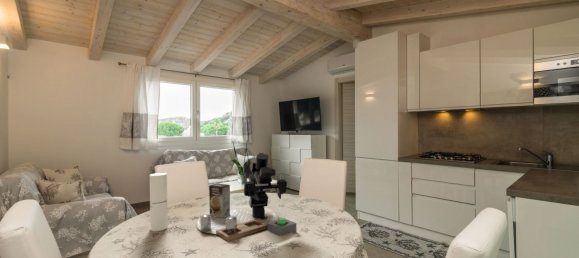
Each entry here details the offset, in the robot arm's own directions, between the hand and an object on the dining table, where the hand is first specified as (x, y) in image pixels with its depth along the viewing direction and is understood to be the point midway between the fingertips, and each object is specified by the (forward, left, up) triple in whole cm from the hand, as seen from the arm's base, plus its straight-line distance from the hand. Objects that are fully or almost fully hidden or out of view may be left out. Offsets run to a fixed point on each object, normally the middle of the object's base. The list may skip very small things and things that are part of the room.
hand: (269, 199), depth 110 cm
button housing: (-1, +7, -16) cm, 18 cm away
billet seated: (-12, -11, -15) cm, 23 cm away
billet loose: (-25, -17, -16) cm, 35 cm away
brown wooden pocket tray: (-12, -6, -16) cm, 21 cm away
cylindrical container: (-44, -31, -16) cm, 56 cm away
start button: (-1, +7, -13) cm, 15 cm away
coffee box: (-41, -2, -16) cm, 45 cm away
